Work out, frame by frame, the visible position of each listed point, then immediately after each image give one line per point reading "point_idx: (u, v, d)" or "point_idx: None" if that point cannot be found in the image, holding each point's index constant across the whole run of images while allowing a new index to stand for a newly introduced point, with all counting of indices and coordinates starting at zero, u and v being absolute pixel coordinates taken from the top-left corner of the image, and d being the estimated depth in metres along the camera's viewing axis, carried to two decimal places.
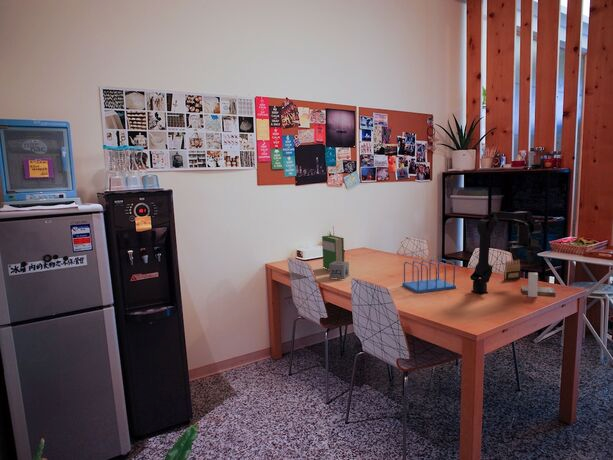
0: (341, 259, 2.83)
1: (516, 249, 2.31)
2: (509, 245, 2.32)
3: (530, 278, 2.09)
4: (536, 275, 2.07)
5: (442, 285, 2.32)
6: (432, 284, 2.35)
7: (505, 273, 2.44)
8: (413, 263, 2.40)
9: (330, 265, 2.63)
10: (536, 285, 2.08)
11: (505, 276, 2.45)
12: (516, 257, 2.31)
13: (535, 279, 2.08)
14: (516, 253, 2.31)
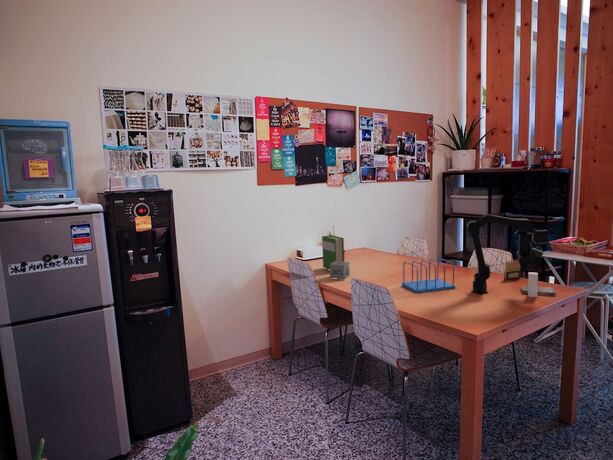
0: (341, 259, 2.83)
1: None
2: (517, 254, 2.20)
3: (530, 278, 2.09)
4: (536, 275, 2.07)
5: (441, 285, 2.32)
6: (431, 284, 2.35)
7: (505, 273, 2.44)
8: (412, 263, 2.40)
9: (331, 265, 2.63)
10: (536, 285, 2.08)
11: (505, 276, 2.45)
12: None
13: (535, 279, 2.08)
14: None
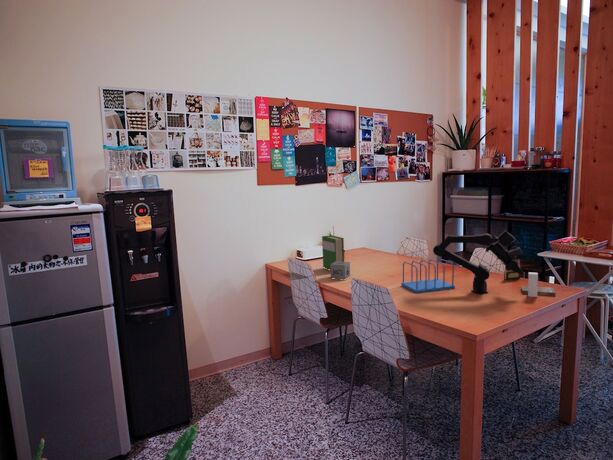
0: (341, 259, 2.83)
1: None
2: None
3: (530, 278, 2.09)
4: (536, 275, 2.07)
5: (441, 285, 2.32)
6: (431, 284, 2.35)
7: (505, 273, 2.44)
8: (412, 263, 2.40)
9: (331, 265, 2.63)
10: (536, 285, 2.08)
11: (505, 276, 2.45)
12: None
13: (535, 279, 2.08)
14: None
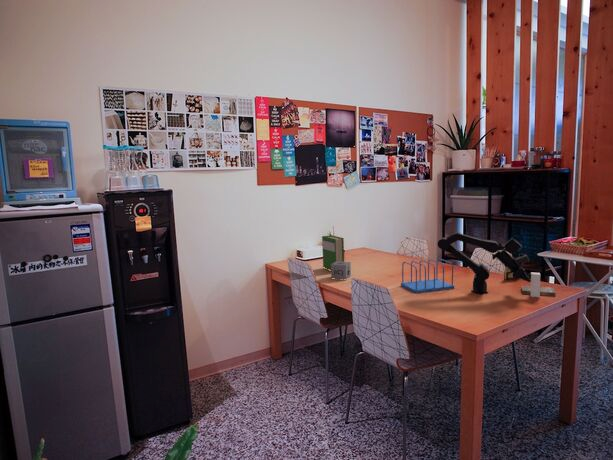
0: (341, 259, 2.83)
1: None
2: None
3: (532, 278, 2.08)
4: (538, 275, 2.07)
5: (440, 285, 2.32)
6: (430, 284, 2.35)
7: (505, 273, 2.44)
8: (411, 263, 2.40)
9: (332, 265, 2.62)
10: (538, 285, 2.07)
11: (505, 276, 2.45)
12: None
13: (537, 279, 2.07)
14: None
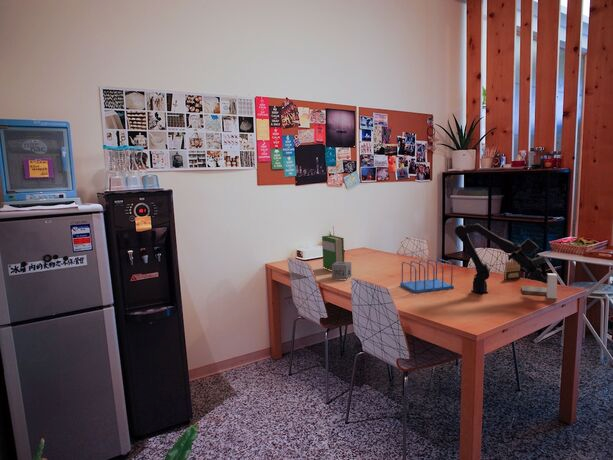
0: (341, 259, 2.83)
1: None
2: None
3: (549, 279, 2.05)
4: (555, 276, 2.04)
5: (440, 285, 2.32)
6: (430, 284, 2.35)
7: (505, 273, 2.44)
8: (411, 263, 2.40)
9: (333, 265, 2.62)
10: (555, 286, 2.04)
11: (505, 276, 2.45)
12: None
13: (554, 280, 2.04)
14: None
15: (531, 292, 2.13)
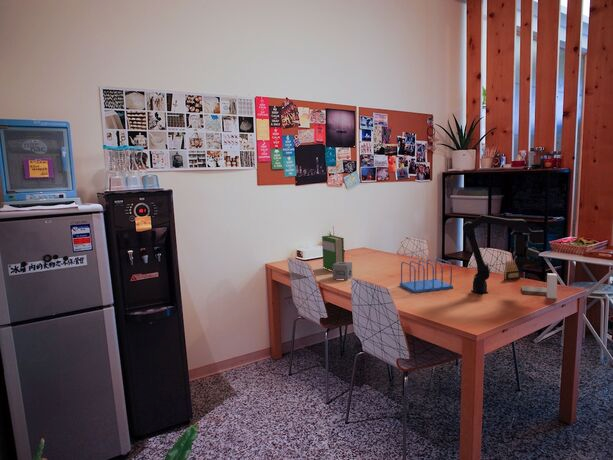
0: (341, 259, 2.83)
1: None
2: (513, 254, 2.19)
3: (549, 279, 2.05)
4: (555, 276, 2.04)
5: (439, 285, 2.33)
6: (429, 284, 2.35)
7: (505, 273, 2.44)
8: (410, 263, 2.40)
9: (334, 266, 2.61)
10: (555, 286, 2.04)
11: (505, 276, 2.45)
12: None
13: (554, 280, 2.04)
14: None
15: (531, 292, 2.13)
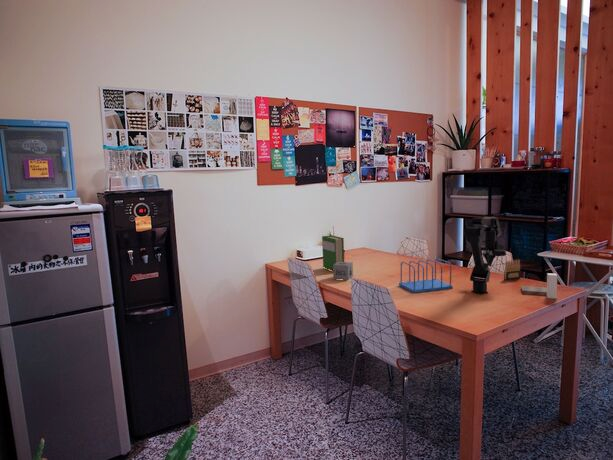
0: (341, 259, 2.83)
1: None
2: None
3: (549, 279, 2.05)
4: (555, 276, 2.04)
5: (439, 285, 2.33)
6: (429, 284, 2.35)
7: (505, 273, 2.44)
8: None
9: (334, 266, 2.61)
10: (555, 286, 2.04)
11: (505, 276, 2.45)
12: None
13: (554, 280, 2.04)
14: None
15: (531, 292, 2.13)
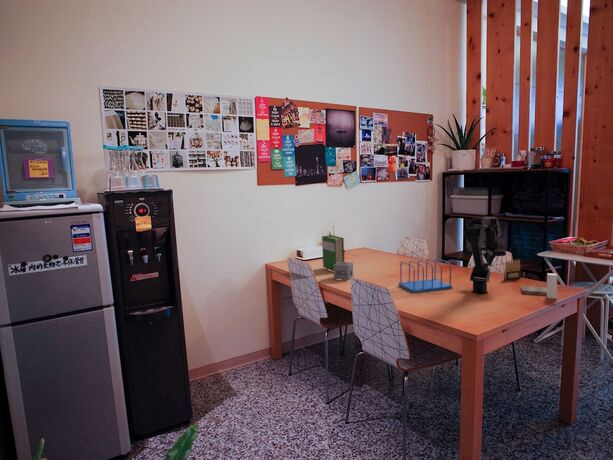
0: (341, 259, 2.83)
1: None
2: None
3: (549, 279, 2.05)
4: (555, 276, 2.04)
5: (438, 285, 2.33)
6: (428, 284, 2.35)
7: (505, 273, 2.44)
8: (409, 263, 2.40)
9: (334, 266, 2.60)
10: (555, 286, 2.04)
11: (505, 276, 2.45)
12: None
13: (554, 280, 2.04)
14: None
15: (531, 292, 2.13)
